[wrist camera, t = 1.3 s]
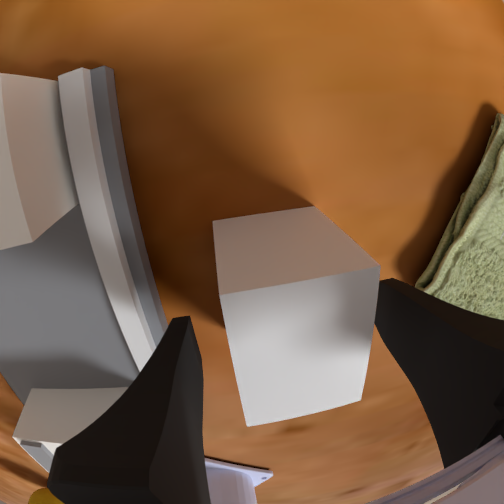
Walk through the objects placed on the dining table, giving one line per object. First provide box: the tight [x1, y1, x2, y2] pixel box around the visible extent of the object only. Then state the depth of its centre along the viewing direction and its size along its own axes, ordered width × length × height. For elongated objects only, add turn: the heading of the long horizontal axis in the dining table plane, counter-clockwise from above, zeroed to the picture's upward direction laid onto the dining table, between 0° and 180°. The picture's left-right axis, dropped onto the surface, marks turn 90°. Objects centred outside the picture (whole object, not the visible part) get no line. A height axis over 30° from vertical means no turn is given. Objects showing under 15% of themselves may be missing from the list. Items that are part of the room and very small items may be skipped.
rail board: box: [0, 66, 168, 473], centre depth 11 cm, size 20×12×6 cm, turn 6°
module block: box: [212, 206, 380, 427], centre depth 12 cm, size 6×4×6 cm
